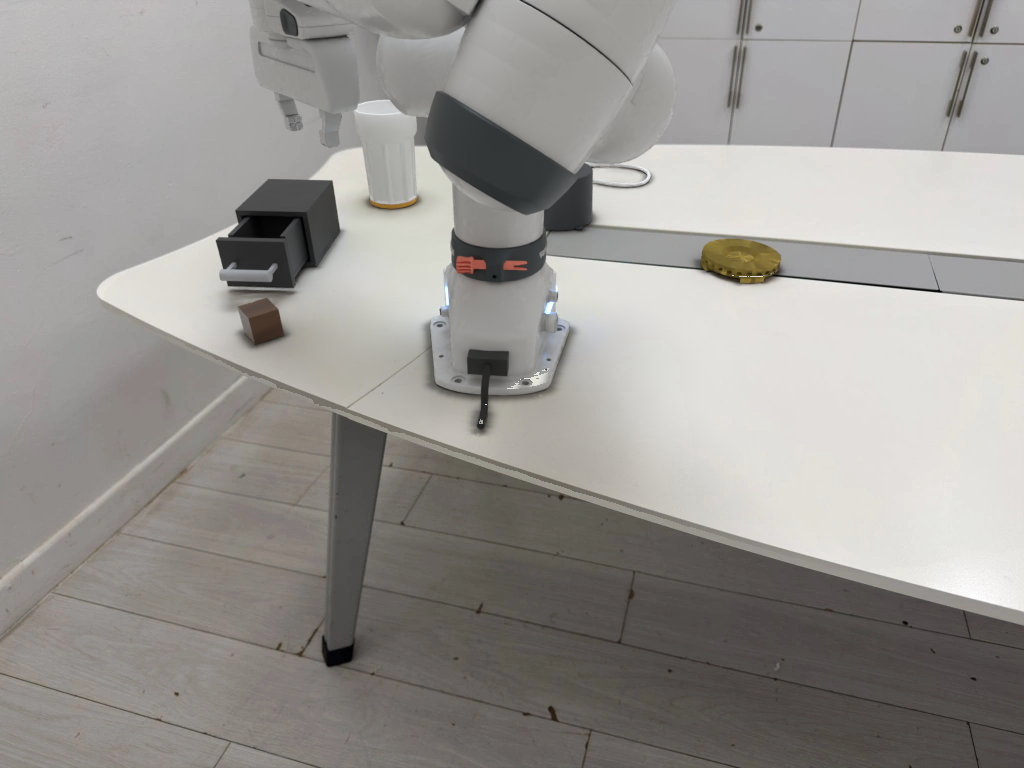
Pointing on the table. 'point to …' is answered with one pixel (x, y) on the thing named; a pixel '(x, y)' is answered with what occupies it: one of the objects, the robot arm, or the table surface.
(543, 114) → the robot arm
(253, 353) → the table surface
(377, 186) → the cup
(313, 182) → the cabinet
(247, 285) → the drawer
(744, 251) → the compass
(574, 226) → the light fixture
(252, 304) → the block
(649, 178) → the earphone
